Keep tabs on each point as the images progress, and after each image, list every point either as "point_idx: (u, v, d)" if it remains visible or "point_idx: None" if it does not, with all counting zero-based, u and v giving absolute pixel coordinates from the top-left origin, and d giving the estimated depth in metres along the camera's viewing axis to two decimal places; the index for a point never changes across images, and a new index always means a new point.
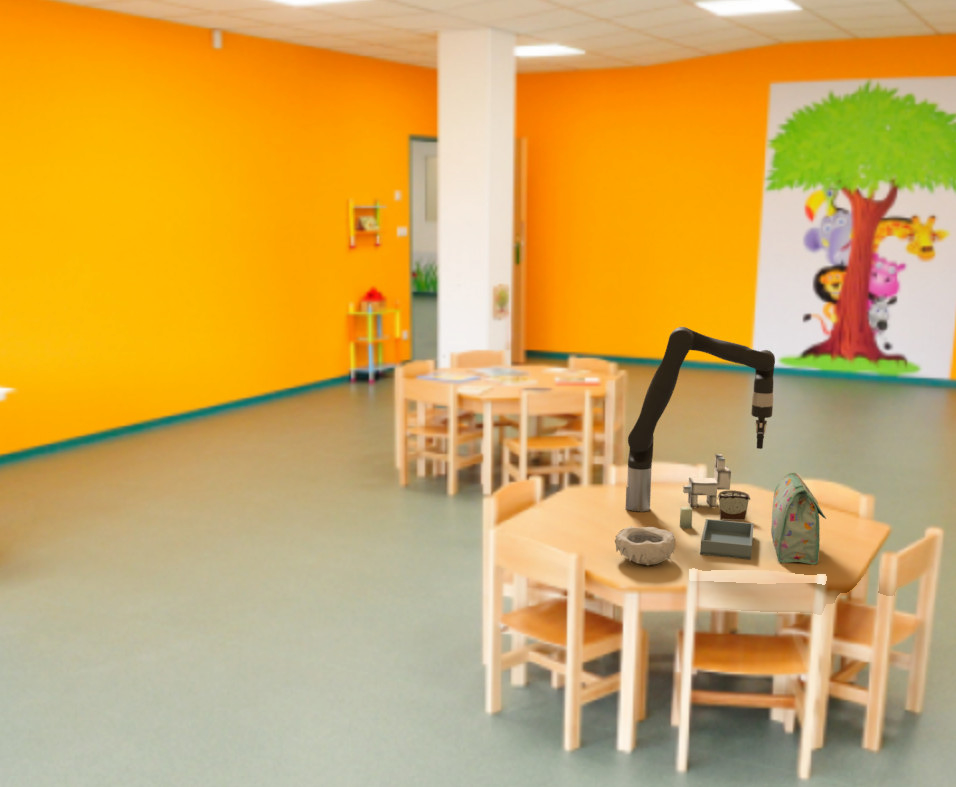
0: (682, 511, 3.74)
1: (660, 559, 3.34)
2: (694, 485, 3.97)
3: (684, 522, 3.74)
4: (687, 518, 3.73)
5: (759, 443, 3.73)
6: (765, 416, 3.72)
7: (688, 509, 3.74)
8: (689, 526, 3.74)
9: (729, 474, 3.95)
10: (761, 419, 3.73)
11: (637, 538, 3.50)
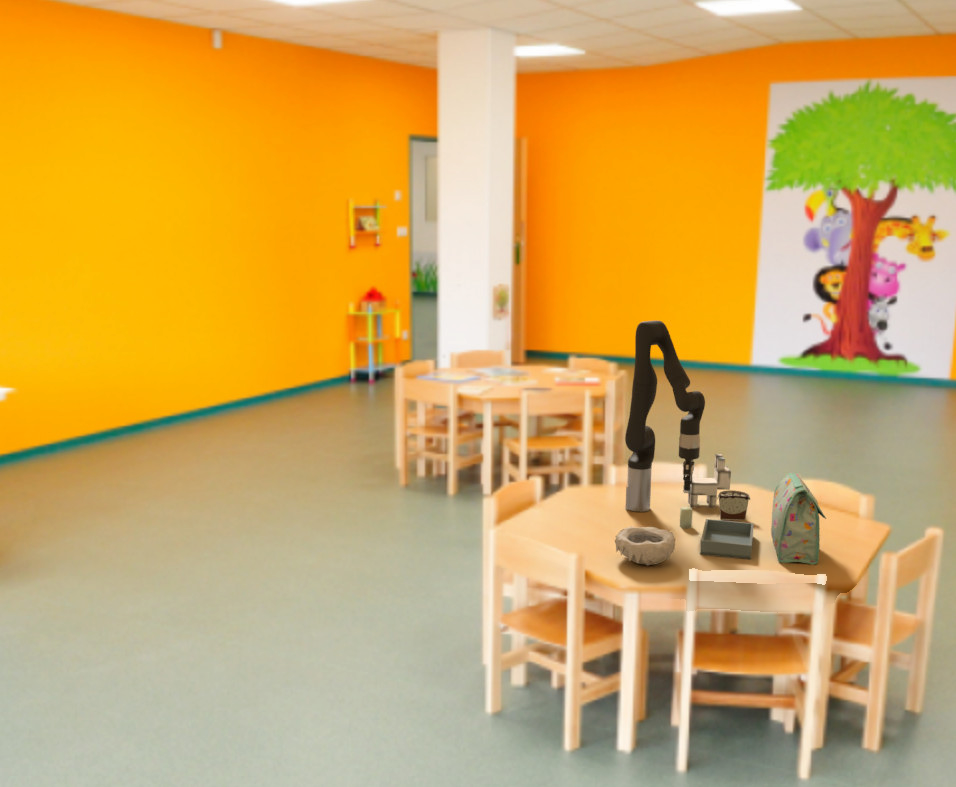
0: (682, 511, 3.74)
1: (660, 559, 3.34)
2: (694, 485, 3.97)
3: (684, 522, 3.74)
4: (687, 518, 3.73)
5: (686, 485, 3.68)
6: (692, 458, 3.67)
7: (688, 509, 3.74)
8: (689, 526, 3.74)
9: (729, 474, 3.95)
10: (688, 461, 3.67)
11: (637, 538, 3.50)
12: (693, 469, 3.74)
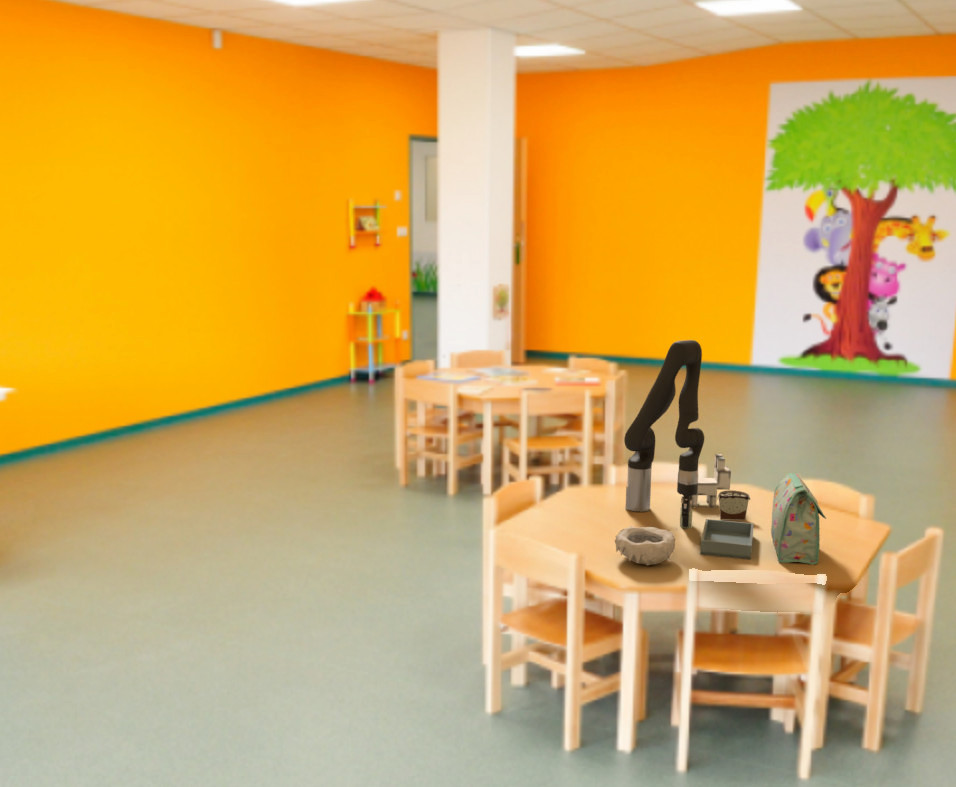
0: None
1: (660, 559, 3.34)
2: None
3: None
4: None
5: (684, 521, 3.73)
6: (690, 494, 3.70)
7: None
8: (689, 526, 3.74)
9: (729, 474, 3.95)
10: (686, 497, 3.70)
11: (637, 538, 3.50)
12: (691, 506, 3.76)
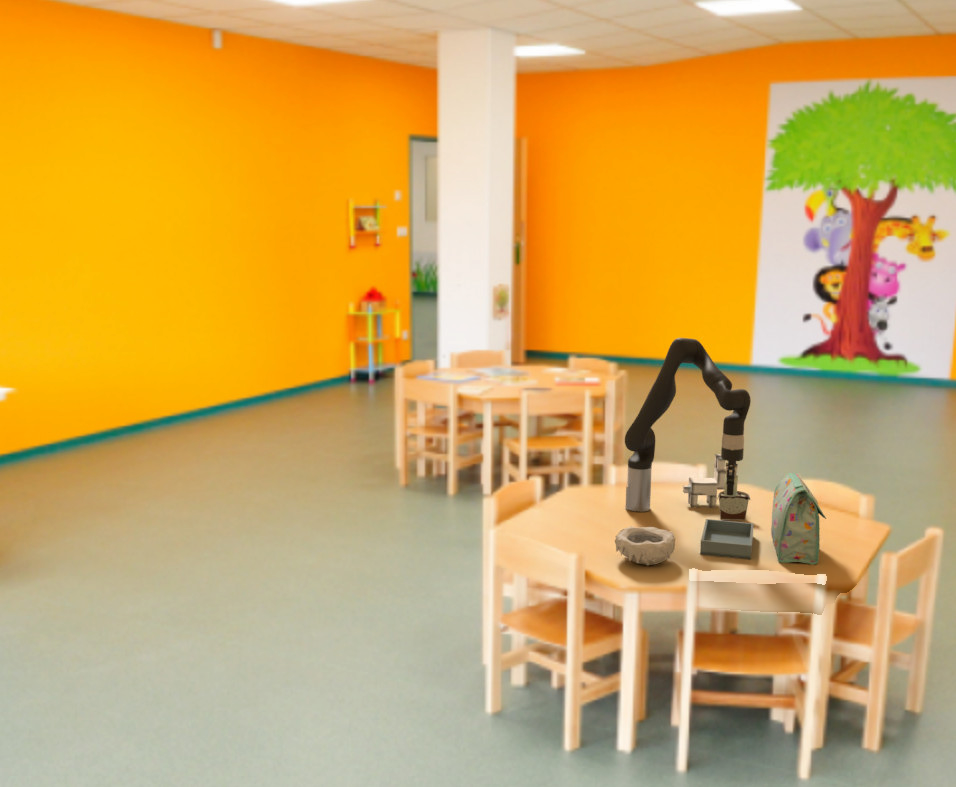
0: None
1: (660, 559, 3.34)
2: (694, 485, 3.97)
3: None
4: None
5: (729, 489, 3.49)
6: (735, 459, 3.47)
7: None
8: (734, 494, 3.51)
9: None
10: (731, 463, 3.47)
11: (637, 538, 3.50)
12: None
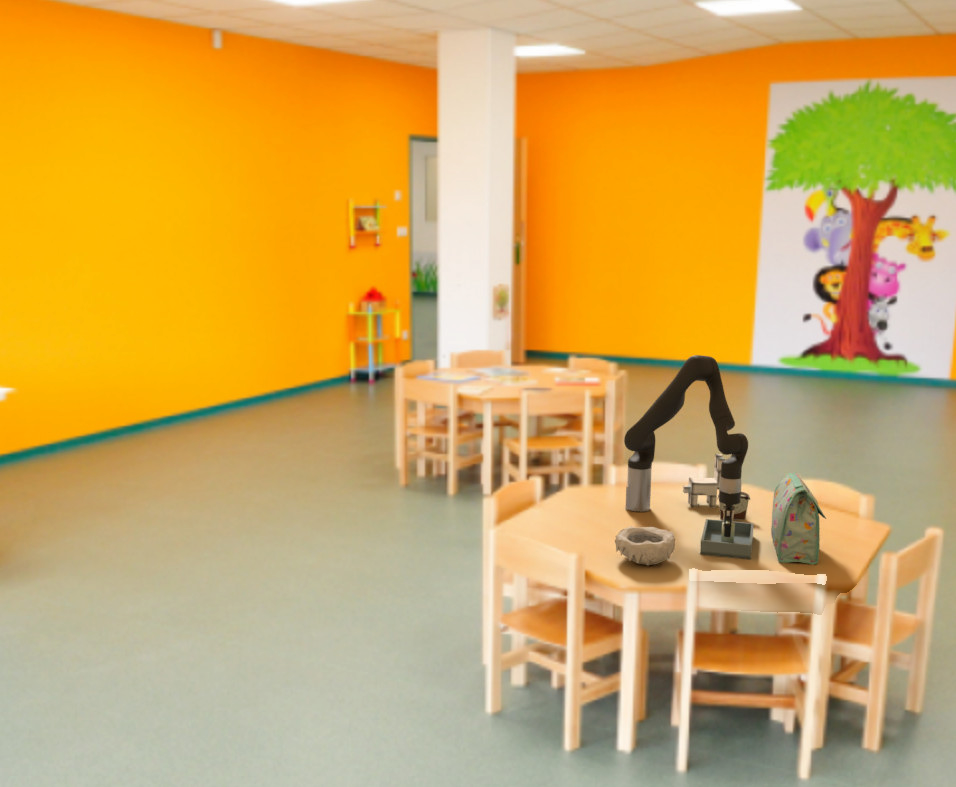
0: None
1: (660, 559, 3.34)
2: (694, 485, 3.97)
3: (726, 538, 3.54)
4: None
5: (726, 531, 3.51)
6: (733, 503, 3.50)
7: None
8: (731, 542, 3.55)
9: None
10: (729, 506, 3.50)
11: (637, 538, 3.50)
12: None
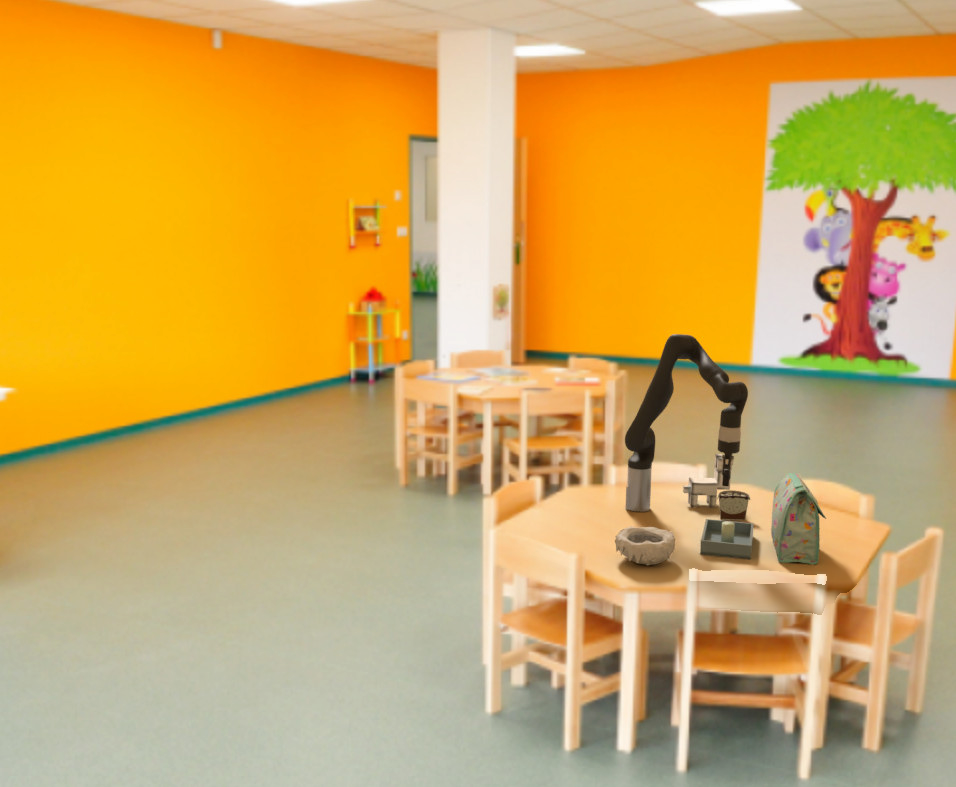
0: (724, 526, 3.54)
1: (660, 559, 3.34)
2: (694, 485, 3.97)
3: (726, 538, 3.54)
4: (729, 533, 3.54)
5: (725, 480, 3.49)
6: (732, 452, 3.48)
7: (730, 524, 3.54)
8: (731, 542, 3.55)
9: None
10: (727, 455, 3.49)
11: (637, 538, 3.50)
12: (732, 464, 3.55)
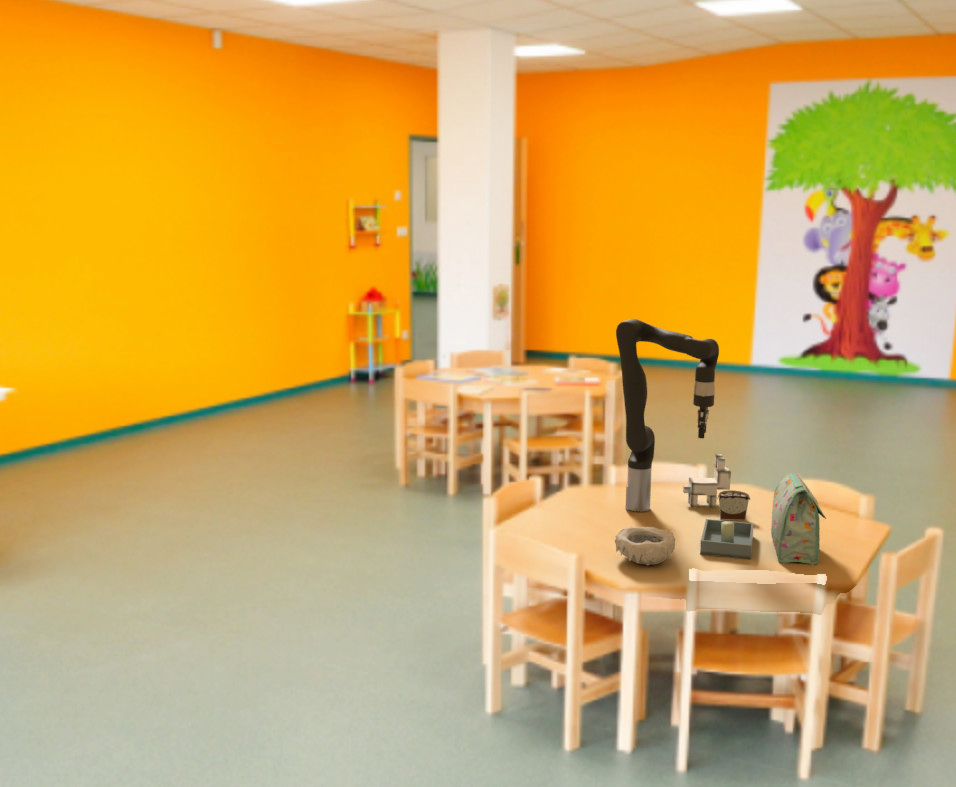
0: (724, 526, 3.54)
1: (660, 559, 3.34)
2: (694, 485, 3.97)
3: (726, 537, 3.54)
4: (729, 533, 3.54)
5: (700, 433, 3.68)
6: (706, 405, 3.68)
7: (730, 524, 3.55)
8: (731, 541, 3.55)
9: (729, 474, 3.95)
10: (702, 408, 3.68)
11: (637, 538, 3.50)
12: (707, 417, 3.75)
